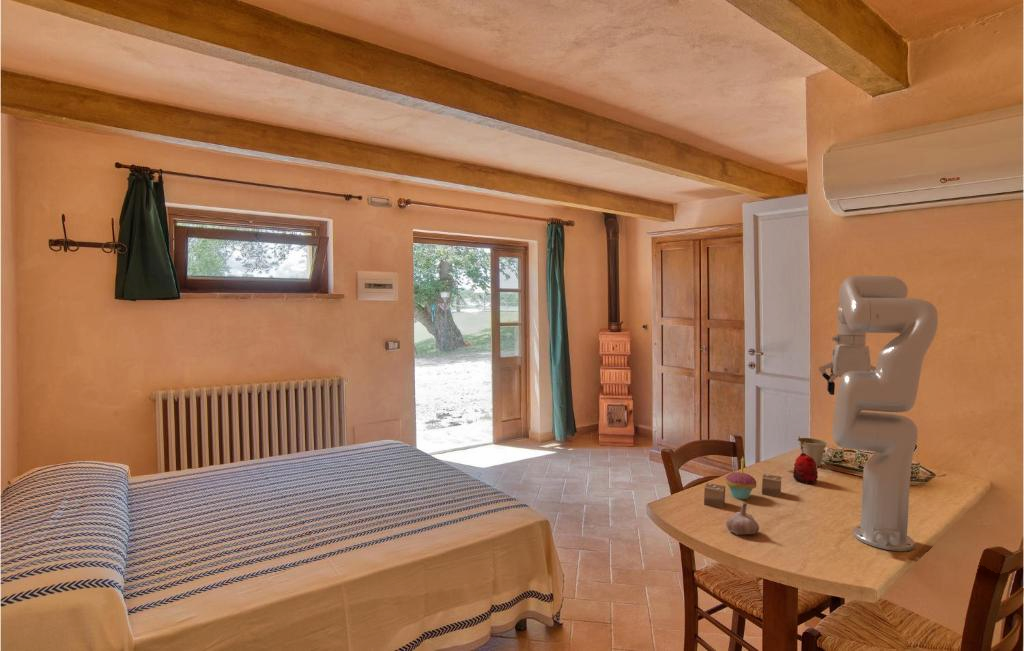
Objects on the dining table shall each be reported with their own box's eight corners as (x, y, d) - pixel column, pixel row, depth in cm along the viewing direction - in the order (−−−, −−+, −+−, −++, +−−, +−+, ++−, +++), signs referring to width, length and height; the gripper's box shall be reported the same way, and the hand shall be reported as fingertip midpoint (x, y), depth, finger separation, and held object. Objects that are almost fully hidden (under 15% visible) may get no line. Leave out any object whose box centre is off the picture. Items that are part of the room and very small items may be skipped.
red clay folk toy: (821, 485, 173) (824, 439, 173) (799, 485, 173) (801, 438, 173) (809, 477, 181) (811, 433, 180) (788, 477, 181) (790, 432, 180)
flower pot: (802, 458, 202) (803, 436, 202) (830, 465, 195) (831, 441, 195) (791, 463, 196) (792, 440, 196) (819, 470, 189) (820, 445, 188)
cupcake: (727, 489, 168) (729, 451, 168) (757, 494, 164) (759, 455, 163) (722, 498, 161) (724, 458, 160) (753, 504, 157) (755, 463, 156)
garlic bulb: (763, 533, 137) (764, 502, 137) (751, 542, 132) (752, 510, 132) (733, 524, 143) (734, 494, 142) (721, 532, 137) (722, 501, 137)
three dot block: (722, 508, 153) (723, 490, 153) (704, 504, 155) (704, 487, 155) (724, 502, 157) (725, 485, 157) (706, 499, 160) (707, 482, 160)
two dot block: (780, 497, 162) (780, 480, 162) (761, 494, 165) (762, 477, 164) (780, 492, 167) (781, 476, 166) (762, 489, 169) (763, 473, 169)
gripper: (823, 340, 168) (821, 395, 169) (887, 342, 163) (884, 399, 164) (817, 339, 175) (814, 391, 176) (878, 341, 171) (875, 395, 171)
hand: (848, 395), depth 170 cm, fingers open, 9 cm apart
